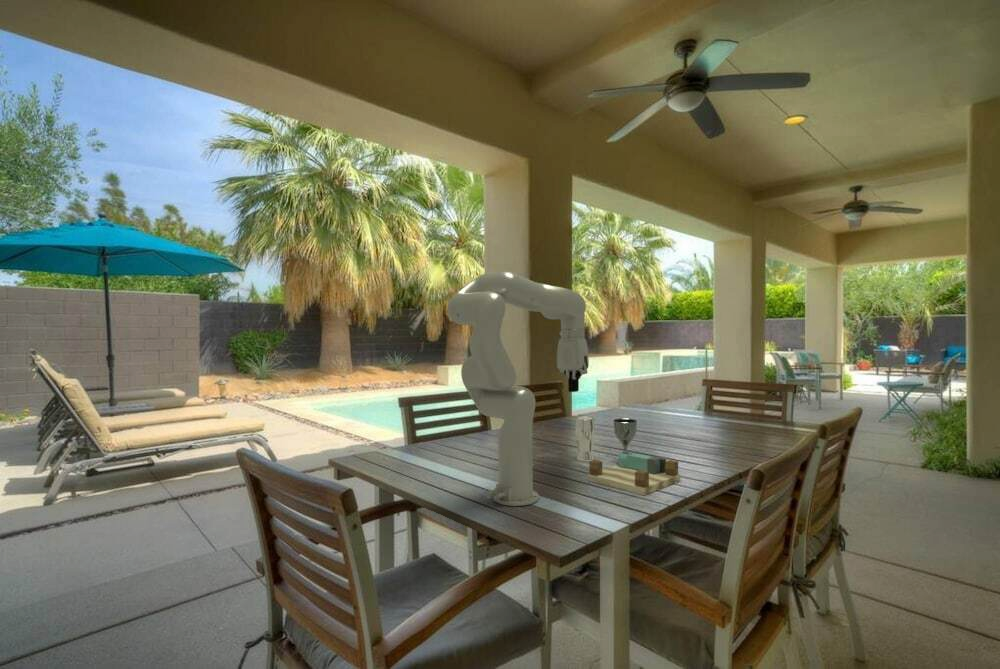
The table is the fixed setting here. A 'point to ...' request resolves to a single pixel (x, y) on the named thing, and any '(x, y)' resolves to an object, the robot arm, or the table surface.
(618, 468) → the seat
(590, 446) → the beer glass
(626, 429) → the silver goblet
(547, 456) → the table surface
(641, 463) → the leg
